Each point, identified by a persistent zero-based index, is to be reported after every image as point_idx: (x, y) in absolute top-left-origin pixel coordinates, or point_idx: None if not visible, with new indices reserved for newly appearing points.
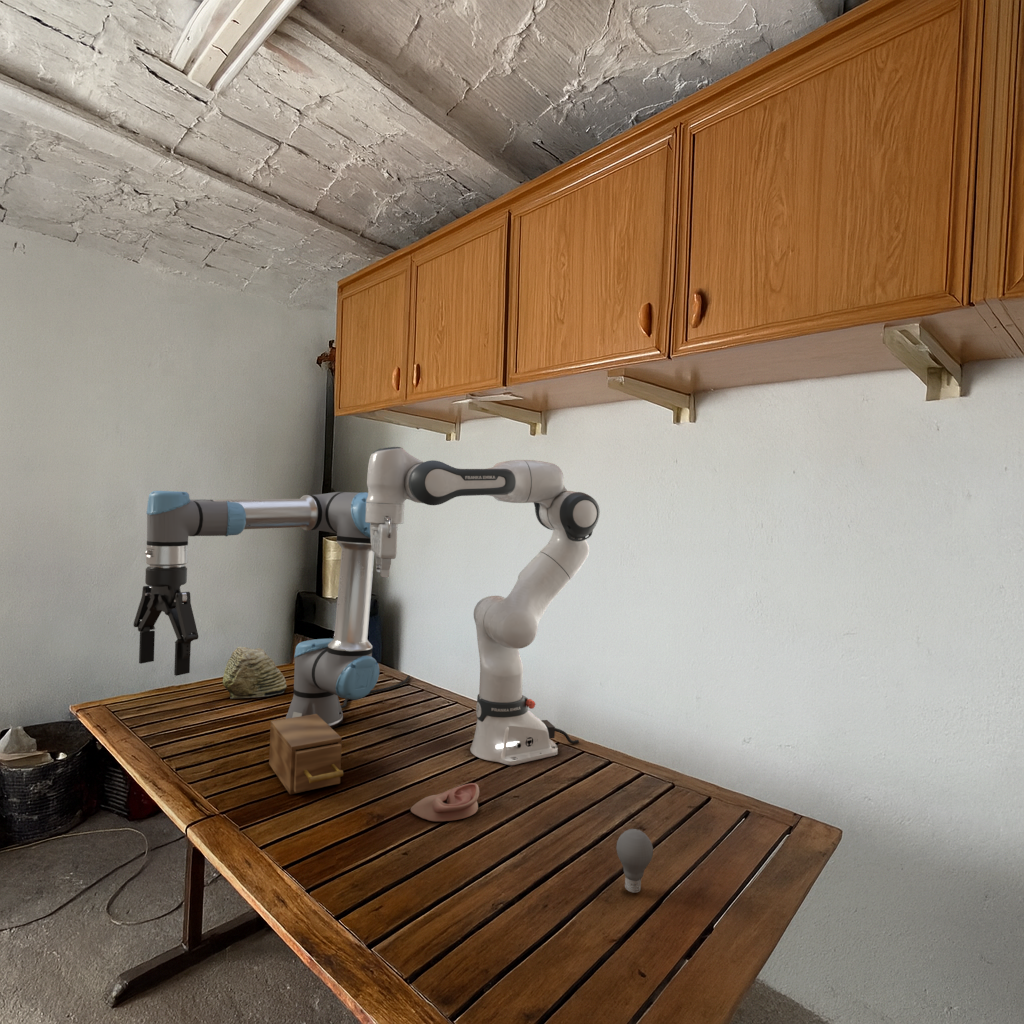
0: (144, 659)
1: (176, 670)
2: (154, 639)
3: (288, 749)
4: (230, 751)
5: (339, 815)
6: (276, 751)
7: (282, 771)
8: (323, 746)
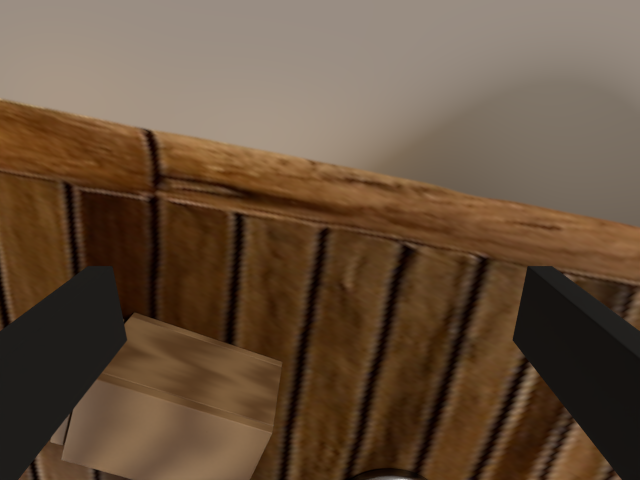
0: (535, 298)
1: (67, 281)
2: (611, 465)
3: (116, 372)
4: (398, 353)
5: (3, 315)
6: (223, 376)
7: (180, 344)
8: (67, 418)
